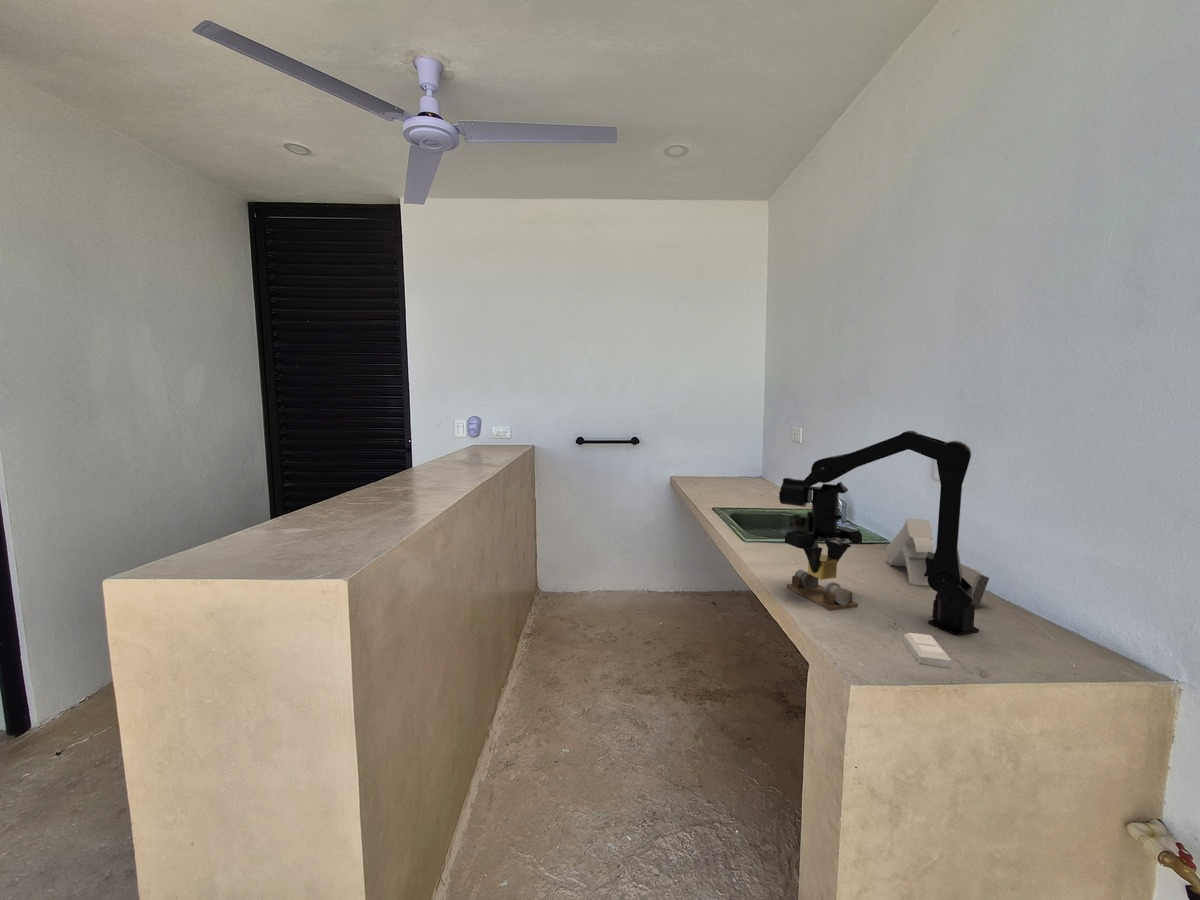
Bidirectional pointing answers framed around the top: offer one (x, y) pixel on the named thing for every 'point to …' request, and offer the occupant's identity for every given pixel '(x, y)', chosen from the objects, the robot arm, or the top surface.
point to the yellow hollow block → (825, 568)
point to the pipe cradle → (821, 592)
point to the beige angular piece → (912, 549)
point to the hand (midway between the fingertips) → (822, 571)
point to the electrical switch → (975, 582)
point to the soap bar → (926, 650)
